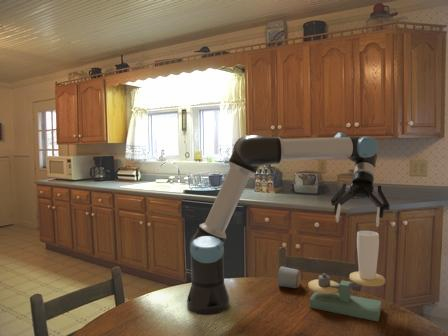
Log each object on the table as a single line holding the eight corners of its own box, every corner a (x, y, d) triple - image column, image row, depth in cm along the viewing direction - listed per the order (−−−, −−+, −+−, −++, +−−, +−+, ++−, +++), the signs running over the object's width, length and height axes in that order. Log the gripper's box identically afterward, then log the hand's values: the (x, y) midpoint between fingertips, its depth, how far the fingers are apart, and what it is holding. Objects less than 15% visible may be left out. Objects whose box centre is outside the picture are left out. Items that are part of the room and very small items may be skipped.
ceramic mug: (298, 291, 136) (298, 272, 136) (277, 288, 139) (277, 269, 139) (302, 281, 146) (302, 263, 146) (282, 279, 149) (282, 261, 148)
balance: (304, 307, 123) (304, 273, 122) (312, 295, 133) (312, 263, 132) (383, 324, 111) (383, 286, 110) (385, 309, 121) (386, 274, 120)
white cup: (368, 283, 113) (369, 237, 112) (352, 276, 119) (352, 232, 118) (383, 278, 116) (383, 234, 115) (366, 272, 122) (366, 229, 121)
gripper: (399, 184, 135) (395, 232, 123) (332, 181, 147) (322, 224, 135) (399, 171, 130) (395, 220, 118) (329, 169, 142) (319, 212, 130)
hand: (356, 222), depth 126 cm, fingers open, 13 cm apart
